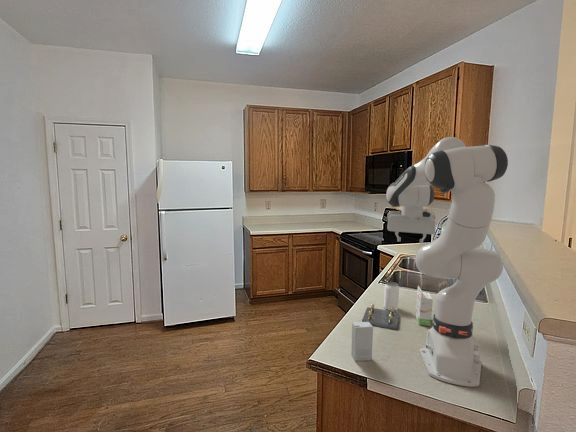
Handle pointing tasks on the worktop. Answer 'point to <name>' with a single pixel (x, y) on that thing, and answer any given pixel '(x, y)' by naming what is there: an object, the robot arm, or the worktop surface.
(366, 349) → the skincare box
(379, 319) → the plate
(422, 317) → the ink box
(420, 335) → the worktop surface
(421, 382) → the worktop surface
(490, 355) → the worktop surface
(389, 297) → the can
